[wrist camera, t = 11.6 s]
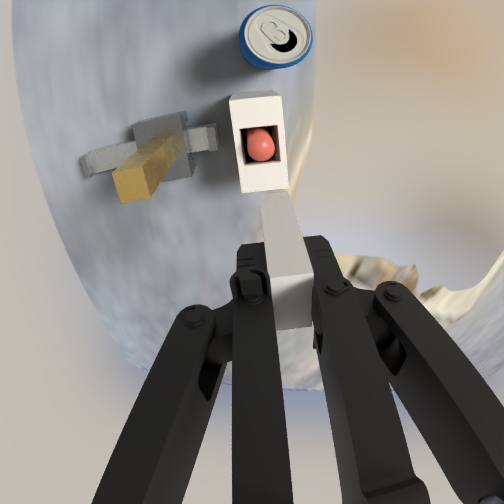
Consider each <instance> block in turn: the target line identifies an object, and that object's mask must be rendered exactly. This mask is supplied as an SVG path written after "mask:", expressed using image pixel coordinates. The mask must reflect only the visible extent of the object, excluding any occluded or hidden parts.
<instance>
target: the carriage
mask: <svg viewBox="0 0 504 504" xmlns="http://www.w3.org/2000/svg"><path fill="white" fill-rule="evenodd" d="M187 120H188V119H187V114H186V111H184V112H178V113H174V114H169V115H164V116H160V117H155V118H151V119H147V120H143V121H139V122H136V123H135V124H133V125H132V128H133V133H134V137H135V141H136V146H137V151H136V152H135V153H133V154H132V155H131V156H130V157H129V158H128V159H127V160H125V161H124V162H123V163H122V164H121V165H120V166H119V167H118V168H117V169H116V170H114V171H113V172H112V177H113V180H114V183H115V186H116V190H117V193H118V196H119V199H120V202H121V203H127V202H132V201H137V200H143V199H148V198H151V197H152V195H153V194H154V192H155V190H156V189H157V187H158V186H159V184H160V183H161V182H164V181H170V180H176V179H182V178H188V177H192V175H193V173H194V169H195V166H196V162H195V157H191V153H190V148H189V143H188V137H187V132H186V127H185V122H186V121H187Z"/></svg>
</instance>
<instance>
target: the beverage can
mask: <svg viewBox="0 0 504 504" xmlns="http://www.w3.org/2000/svg"><path fill="white" fill-rule="evenodd" d="M239 38H240V48H241V52H242V54H243V56H244V58H245V59H246V60H247V61H248V62H249V63H250V64H251V65H253V66H255V67H257V68H260V69H279V68H286V67H290V66H293V65H295V64H297V63H299V62H300V61H301V60H303V59H304V58H305V57H306V55H307V54H308V52H309V51H310V48H311V45H312V40H313V39H312V31H311V28H310V26H309V23H308V22H307V20H306V19H305V18H304V17H303V16H302V15H301V14H300V13H298V12H297V11H295V10H293V9H291V8H289V7H286V6H281V5H268V6H263V7H260V8H258V9H256V10H254V11H253V12H251V13H250V14H249V15H248V16H247V17H246V18H245V19H244V21H243V23H242V25H241V28H240V33H239Z"/></svg>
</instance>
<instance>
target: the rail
mask: <svg viewBox="0 0 504 504" xmlns="http://www.w3.org/2000/svg"><path fill="white" fill-rule="evenodd" d="M186 132H187V137H188V143H189V148H190V153H191V152H198V151H204V150H210V151H217V150H218V148H219V145H220V143H219V137H218V131H217V124H216V123H212V124H205V125H199V126H194V127H188V128H186ZM136 151H137V146H136V141H135V139H133V140H129V141H125V142H121V143H117V144H114V145H110V146H106V147H103V148H100V149H96V150H93V151H90V152H88V153H86V154H85V155H83V156H82V157H80V158H79V159H80V163H81V166H82V169H83V172H84V176H85V178H87V177H90V176H92V175H93V174H95V173H98V172H102V171H106V170H110V169H114V168H118V167H119V166H120V165H121V164H122V163H123V162H124V161H125V160H127V159H128V158H129V157H130V156H131V155H132V154H133V153H135V152H136Z"/></svg>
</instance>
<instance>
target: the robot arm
mask: <svg viewBox="0 0 504 504" xmlns="http://www.w3.org/2000/svg"><path fill="white" fill-rule="evenodd" d="M259 201H260V210H261V219H262V228H263V237H264V242H261V243H252V244H243V245H241V247H240V248H239V250H238V251H237V270H236V272H235V273H234V274H233V275H232V276H231V278H230V281H229V282H230V287H231V291H232V296H233V299H232V300H231V301H230V302H229V303H228V304H226V305H224V306H222V307H220V308H217V309H214V310H211V309H210V308H208V307H207V306H204V305H201V304H199V305H191V306H188V307H186V308H184V309H183V310H181V311H180V313H179V314H178V315H177V317H176V319H175V321H174V323H173V325H172V327H171V329H170V331H169V333H168V335H167V337H166V339H165V341H164V343H163V345H162V347H161V349H160V351H159V353H158V355H157V357H156V359H155V361H154V363H153V365H152V367H151V369H150V372H149V374H148V376H147V378H146V380H145V382H144V384H143V386H142V388H141V391H140V393H139V395H138V397H137V399H136V402H135V404H134V406H133V408H132V410H131V412H130V414H129V417H128V419H127V421H126V423H125V426H124V428H123V430H122V433H121V435H120V437H119V439H118V441H117V444H116V446H115V448H114V451H113V453H112V455H111V457H110V460H109V462H108V465H107V467H106V469H105V472H104V474H103V476H102V479H101V481H100V484H99V486H98V489H97V491H96V493H95V496H94V498H93V501H92V503H91V504H182V501H183V498H184V495H185V492H186V489H187V486H188V483H189V480H190V477H191V474H192V471H193V468H194V465H195V461H196V459H197V455H198V452H199V449H200V446H201V443H202V440H203V437H204V434H205V431H206V428H207V425H208V421H209V418H210V416H211V412H212V409H213V406H214V403H215V399H216V397H217V394H218V391H219V387H220V384H221V381H222V378H223V375H224V372H225V369H226V365H227V362H229V361H232V504H293V492H292V481H291V470H290V460H289V449H288V440H287V429H286V419H285V410H284V400H283V390H282V381H281V372H280V363H279V354H278V345H277V336H276V331H277V330H286V329H294V328H302V327H310V326H312V320H313V325H314V340H313V349H316V350H317V355H318V360H319V365H320V370H321V375H322V380H323V385H324V391H325V396H326V401H327V407H328V412H329V418H330V423H331V429H332V435H333V441H334V447H335V453H336V459H337V465H338V472H339V479H340V486H341V492H342V504H430V498H429V494H428V490H427V487H426V486H425V484H424V482H423V481H422V480H420V479H419V478H418V477H416V475H415V474H414V470H413V467H412V463H411V459H410V454H409V451H408V447H407V443H406V439H405V435H404V433H403V428H402V425H401V421H400V418H399V414H398V411H397V408H396V404H395V401H394V398H393V395H392V391H391V388H390V385H389V383H390V384H391V386H392V387H393V389H394V391H395V392H396V394H397V395H398V397H399V398H400V400H401V402H402V403H403V405H404V407H405V408H406V410H407V411H408V413H409V415H410V416H411V418H412V420H413V421H414V423H415V424H416V426H417V428H418V429H419V431H420V433H421V434H422V436H423V438H424V439H425V441H426V443H427V444H428V446H429V448H430V449H431V451H432V453H433V455H434V456H435V458H436V460H437V462H438V463H439V465H440V467H441V469H442V470H443V472H444V474H445V476H446V477H447V479H448V481H449V483H450V485H451V486H452V488H453V490H454V492H455V493H456V494H457V496H458V498H459V499H460V500H461V501H462V503H463V504H504V407H503V405H502V404H501V403H500V401H499V400H498V398H497V397H496V395H495V394H494V393H493V391H492V390H491V389H490V387H489V386H488V384H487V383H486V382H485V380H484V379H483V378H482V376H481V375H480V374H479V372H478V371H477V370H476V368H475V367H474V366H473V364H472V363H471V362H470V361H469V359H468V358H467V357H466V356H465V354H464V353H463V352H462V351H461V349H460V348H459V347H458V346H457V344H456V343H455V342H454V341H453V340H452V338H451V337H450V336H449V335H448V334H447V332H446V331H445V330H444V329H443V328H442V326H441V325H440V324H439V323H438V322H437V321H436V319H435V318H434V317H433V316H432V315H431V314H430V313H429V311H428V310H427V309H426V308H425V307H424V306H423V305H422V304H421V303H420V301H419V300H418V299H417V298H416V297H415V296H414V295H413V294H412V293H411V292H410V290H409V289H408V288H407V287H405V286H404V285H403V284H401V283H398V282H395V281H386V282H382V283H381V284H379V285H378V286H377V288H376V289H375V291H373V290H364V289H358V288H356V287H353V285H352V284H351V282H350V281H349V280H347V279H346V278H344V277H343V275H342V272H341V270H340V267H339V265H338V263H337V260H336V258H335V256H334V253H333V251H332V248H331V246H330V244H329V241H328V240H326V239H325V238H324V237H323V236H321V235H319V236H310V237H302V233H301V230H300V227H299V224H298V221H297V218H296V215H295V212H294V209H293V206H292V203H291V200H290V197H289V194H288V192H280V193H271V194H261V195H259ZM388 381H389V382H388Z"/></svg>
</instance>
